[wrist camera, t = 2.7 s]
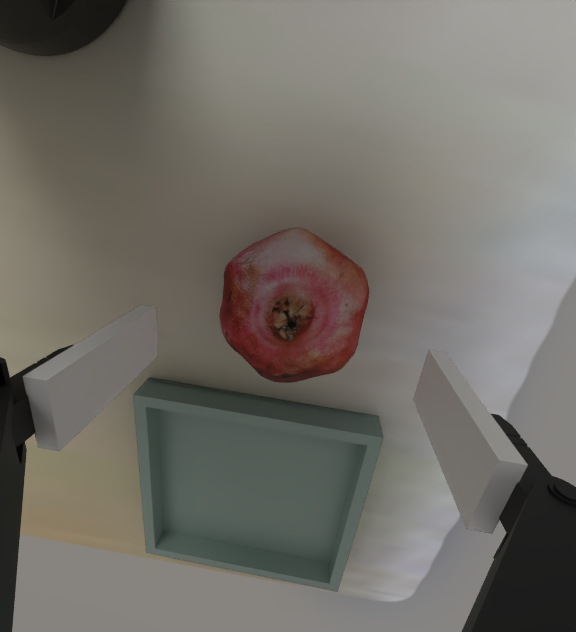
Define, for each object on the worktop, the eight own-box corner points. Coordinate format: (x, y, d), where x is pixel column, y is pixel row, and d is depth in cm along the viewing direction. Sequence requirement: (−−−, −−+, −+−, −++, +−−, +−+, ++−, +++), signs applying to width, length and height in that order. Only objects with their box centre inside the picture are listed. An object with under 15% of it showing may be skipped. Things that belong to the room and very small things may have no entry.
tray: (149, 377, 28) (133, 394, 26) (378, 416, 27) (383, 437, 25) (157, 529, 36) (146, 552, 34) (337, 564, 35) (337, 591, 32)
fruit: (297, 366, 26) (280, 464, 17) (212, 281, 24) (142, 339, 15) (391, 296, 23) (432, 369, 14) (303, 193, 21) (283, 199, 12)
